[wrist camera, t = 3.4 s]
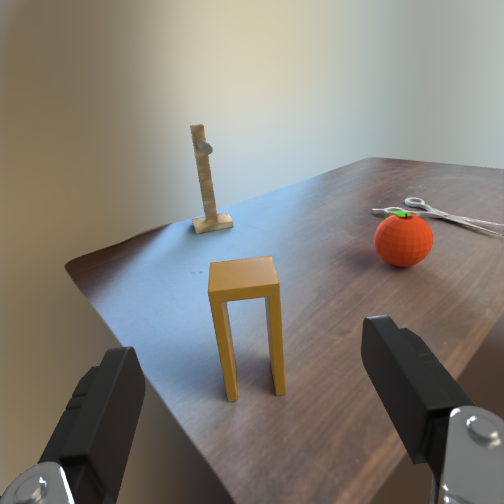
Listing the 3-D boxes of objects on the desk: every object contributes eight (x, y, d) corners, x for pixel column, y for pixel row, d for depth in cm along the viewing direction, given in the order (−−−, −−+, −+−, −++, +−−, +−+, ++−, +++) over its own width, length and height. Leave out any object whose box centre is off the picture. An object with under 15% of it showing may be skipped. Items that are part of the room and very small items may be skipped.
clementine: (358, 252, 46) (362, 206, 43) (401, 244, 47) (407, 199, 44) (391, 280, 39) (398, 228, 36) (440, 270, 40) (452, 218, 37)
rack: (200, 245, 53) (180, 132, 45) (192, 224, 62) (174, 126, 53) (240, 236, 55) (228, 126, 46) (227, 218, 63) (214, 121, 55)
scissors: (403, 195, 64) (525, 219, 49) (403, 198, 64) (523, 223, 49) (371, 209, 58) (496, 240, 44) (370, 213, 59) (494, 245, 44)
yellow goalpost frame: (227, 402, 26) (207, 291, 21) (227, 364, 29) (210, 262, 24) (285, 394, 26) (279, 283, 21) (278, 358, 30) (271, 255, 25)
